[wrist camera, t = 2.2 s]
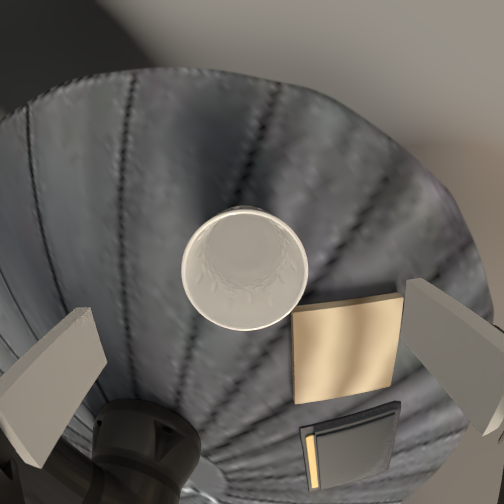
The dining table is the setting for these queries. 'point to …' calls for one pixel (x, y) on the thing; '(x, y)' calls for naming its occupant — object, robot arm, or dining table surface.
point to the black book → (349, 446)
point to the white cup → (244, 269)
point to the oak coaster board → (344, 346)
